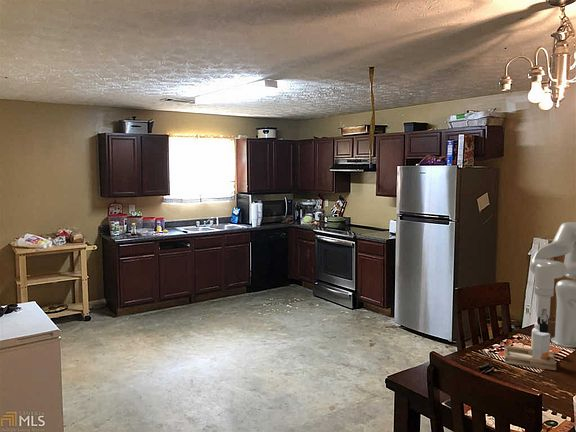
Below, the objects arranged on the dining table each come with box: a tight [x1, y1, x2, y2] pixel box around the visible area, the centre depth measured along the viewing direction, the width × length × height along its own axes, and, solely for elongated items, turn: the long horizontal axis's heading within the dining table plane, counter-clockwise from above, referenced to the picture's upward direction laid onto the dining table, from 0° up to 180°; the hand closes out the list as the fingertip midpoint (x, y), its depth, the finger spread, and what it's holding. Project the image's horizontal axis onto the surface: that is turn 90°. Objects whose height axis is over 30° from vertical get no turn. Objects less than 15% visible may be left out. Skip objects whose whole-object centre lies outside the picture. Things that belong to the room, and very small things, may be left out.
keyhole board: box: [503, 345, 557, 371], centre depth 219 cm, size 16×20×2 cm
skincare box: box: [532, 332, 551, 360], centre depth 217 cm, size 6×4×12 cm
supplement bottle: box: [530, 322, 540, 349], centre depth 231 cm, size 7×7×13 cm
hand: (542, 328), depth 217 cm, fingers open, 9 cm apart
